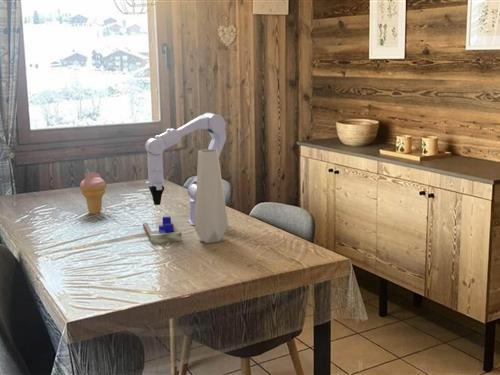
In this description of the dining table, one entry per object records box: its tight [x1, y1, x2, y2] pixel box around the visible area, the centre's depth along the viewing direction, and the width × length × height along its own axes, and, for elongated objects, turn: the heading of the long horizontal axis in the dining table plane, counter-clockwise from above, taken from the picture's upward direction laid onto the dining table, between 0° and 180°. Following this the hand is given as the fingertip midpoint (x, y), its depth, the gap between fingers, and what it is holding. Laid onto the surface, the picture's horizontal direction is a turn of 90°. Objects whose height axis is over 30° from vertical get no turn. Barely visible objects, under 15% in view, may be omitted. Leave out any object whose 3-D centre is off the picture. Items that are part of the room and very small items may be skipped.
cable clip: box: [158, 216, 174, 234], centre depth 226 cm, size 12×4×6 cm, turn 13°
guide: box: [142, 220, 183, 244], centre depth 229 cm, size 11×22×3 cm, turn 17°
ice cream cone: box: [79, 165, 107, 215], centre depth 259 cm, size 11×11×20 cm
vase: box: [194, 148, 229, 244], centre depth 218 cm, size 12×12×33 cm
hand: (157, 204), depth 235 cm, fingers closed
